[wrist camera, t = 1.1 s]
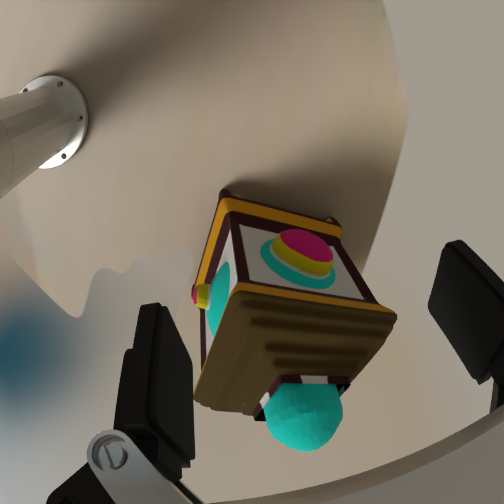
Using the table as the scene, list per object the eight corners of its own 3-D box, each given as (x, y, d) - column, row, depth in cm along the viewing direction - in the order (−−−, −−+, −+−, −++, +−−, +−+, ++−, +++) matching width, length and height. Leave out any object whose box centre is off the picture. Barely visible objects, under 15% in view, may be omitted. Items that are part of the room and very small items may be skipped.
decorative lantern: (214, 173, 39) (229, 383, 14) (346, 210, 45) (464, 376, 20) (182, 291, 49) (177, 480, 24) (295, 309, 54) (345, 471, 30)
